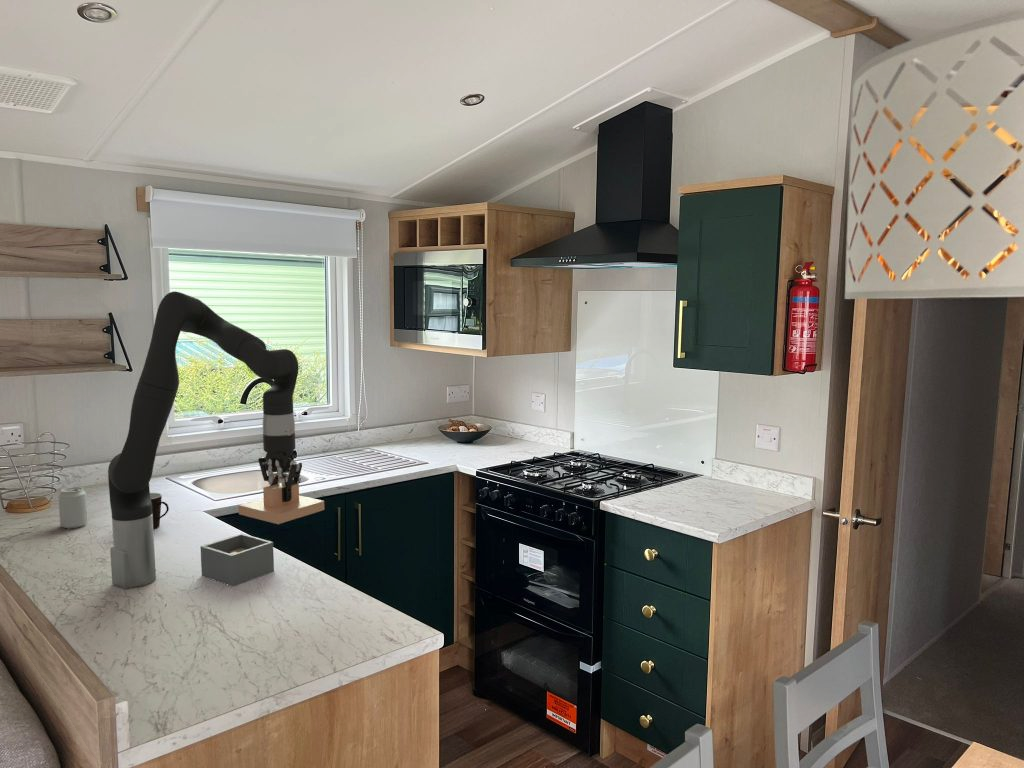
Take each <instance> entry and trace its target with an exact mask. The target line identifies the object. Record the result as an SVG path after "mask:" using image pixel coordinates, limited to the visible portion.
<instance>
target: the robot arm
mask: <svg viewBox="0 0 1024 768" xmlns="http://www.w3.org/2000/svg"><path fill="white" fill-rule="evenodd" d="M181 332H183V333H190V334H193V335H198V336H200V337H203V338H207V339H208V340H210V341H211V342H214V343H215V344H216V345H217V346H218V347H219V348H220V349H221V350H223V351H224V352H225V353H226V354H228V355H229V356H231V357H233V358H235V359H236V360H238V361H240V362H242V363H244V364H245V365H246V366H247V368H248V369H250V371H252V372H253V374H254V375H256V376H257V377H259V378H261V379H263V380H267V381H273V382H272V386H271V387H269V388H268V389H266V390H265V391H264V392H263V394H262V412H263V414H262V415H263V417H262V439H263V440H262V445H263V447H262V449H263V451H264V452H265V453H266V454H265V456H262V457H259V458H258V460H257V461H258V464H259V467H260V468H259V469H260V471H261V475H262V478H263V481H264V482H268V485H269V486H271V485H275V484H279V483H282V501H283V502H288V501H290V500H291V498H292V492H291V487H292V485H296V484H298V483H299V480H300V477H301V472H302V469H303V468H302V467H303V463H302V462H297V461H296V460H295V458H294V454H293V453H294V451H295V449H296V424H295V423H296V422H295V417H294V396H293V395H294V393H295V389H296V384H297V380H298V375H299V361H298V358H297V356H296V354H295V353H294V351H292V350H290V349H288V348H287V349H286V348H285V349H284V348H283V349H272V350H269V349H267V346H266V345H267V344H266V343H265V341H264V340H262V339H261V338H260V337H258V336H256V335H254V334H252V333H250V332H249V331H248V330H245V329H243V328H241V327H238V326H236V325H234V323H231V322H229V321H227V320H225V319H224V318H223V317H222V316H221V315H219V314H217V313H216V312H215V311H214V310H213V309H211V308H210V307H209V306H208V305H207V304H206V303H205V302H203V301H202V300H200V299H199V298H196V297H194V296H191V295H189V294H186V293H183V292H181V291H170V292H169V293H167V294H165V295H164V297H162V299H161V301H160V302H159V305H158V307H157V311H156V315H155V319H154V325H153V330H152V335H151V339H150V343H149V344H150V345H149V347H148V351H147V355H146V358H145V361H144V365H143V368H142V371H141V374H140V376H139V378H138V382H137V385H136V388H135V392H134V394H133V398H132V404H131V411H130V417H129V418H130V419H129V425H128V426H129V427H128V428H129V429H128V431H127V432H128V433H127V437H126V439H125V441H124V446H123V447H122V449H121V452H120V453H118V454H116V455H115V456H114V457H113V458H112V459H111V461H110V462H109V465H108V470H107V477H108V479H107V481H108V491H109V492H108V494H109V502H110V503H109V505H110V511H111V525H112V541H113V542H112V544H113V546H112V547H110V550H109V551H110V552H109V553H110V569H111V583H112V585H114V586H116V587H120V588H122V589H124V590H126V589H130V588H138V587H141V586H145V585H148V584H151V583H152V582H155V580H156V578H157V577H156V576H157V575H156V574H157V573H156V572H157V569H156V558H155V557H156V556H155V555H156V554H155V536H154V535H155V533H154V529H153V514H152V502H151V497H150V493H151V492H150V489H151V488H150V482H151V479H152V476H153V471H154V465H155V462H156V461H155V460H156V455H157V451H158V450H157V449H158V446H159V443H160V440H161V437H162V434H163V432H164V429H165V427H166V424H167V422H168V420H169V417H170V414H171V412H172V408H173V406H174V402H175V399H176V396H177V393H178V390H179V385H180V377H179V376H180V375H179V368H178V364H177V363H178V361H177V357H176V356H177V355H176V353H177V352H176V351H177V350H176V349H177V344H178V341H179V337H180V334H181ZM286 478H287V479H286ZM280 481H281V482H280Z"/></svg>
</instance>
